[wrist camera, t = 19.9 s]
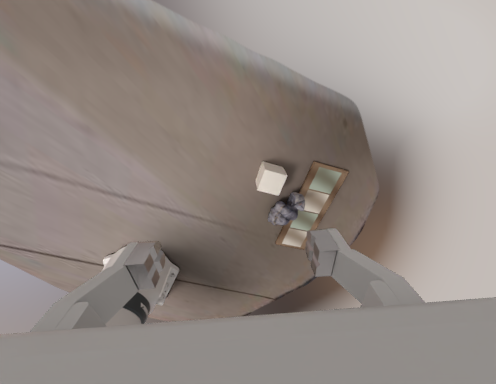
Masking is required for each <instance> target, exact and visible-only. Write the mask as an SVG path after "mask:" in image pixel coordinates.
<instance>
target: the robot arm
mask: <svg viewBox="0 0 496 384" xmlns="http://www.w3.org/2000/svg"><path fill="white" fill-rule="evenodd" d="M307 238H308V240H307V241H306V245H305V249H306V254H307V257H308V260H310V261H311V267H312V270H313V272H314V275H315V277H318V276H332V278H334V279H335V280H336V281H337V282H338V283H339V284H340V285H341V286H342V287H344V288H345V289H346V290H347V291H348V292H349V293H350V294H351V295H353V296H354V297H355V298H356V299H357V300H358V301H359V302H360V303H361V304H362V305H361V307H360V308H348V309H334V310H322V311H307V312H296V313H282V314H268V315H256V316H242V317H228V318H214V319H201V320H187V321H174V322H160V323H147V324H144V323H145V322H146V320H147V317H148V315H149V314H150V313H152V312H153V310H154V307H155V305H156V304H159V305H163V303H164V301H165V298H166V296H167V294H168V292H169V290H170V288H171V286H172V284H173V282H174V280H175V278H176V276H177V274H178V272H179V268H178V267H177V266H175V265H174V264H172V263H171V262H170V261H169V260H168V258H167V257H166V256H165V254H164V252H163V251H161V250H160V249H161V247H162V246H161V244H160V242H159V241H148V242H131V243H129V244H128V245H127V246H126V247H123V248H121V249H119V250H118V251H117V252H116V253H114V254H112V255H108V256H106V257H105V258H104V260H103V263H104V266H105V267H104V268H103V270H102V271H101V272H100V273H99V274H97V275H96V276H94V277H93V278H91V279H90V280H88V281H87V282H85V283H84V284H82V285H81V286H79V287H78V288H76V289H75V290H73V291H72V292H70V293H69V294H67V295H66V296H64V297H63V298H61V299H60V300H58V301H57V302H55V303H54V304H53V305H52V306H51V307H50V309H49V310H48V311H47V312H46V313H45V315H44V316H43V317H42V318H41V319H40V320H39V321H38V323H37V324H36V325H35V326H34V327H33V328H32V330H31V331H30V332H26V333H13V334H0V384H496V297H494V298H482V299H468V300H455V301H443V302H428V303H425V302H424V301H423V300H422V298H421V297H420V296H419V295H418V294H417V292H416V291H415V290H414V289H413V288H412V287H411V286H410V284H409V283H408V282H407V281H406V280H405V279H404V278H403V277H401V276H400V275H398V274H396V273H395V272H393V271H391V270H389V269H388V268H386V267H384V266H382V265H381V264H379V263H377V262H375V261H373V260H372V259H370V258H368V257H367V256H365V255H363V254H361V253H360V252H358V251H356V250H354V249H350V247H349V246H348V244H347V243H346V241H345V240H344V239H343V237H342V236H341V234H340V233H339V231H338V230H337V229H336V228H330V229H320V230H308V231H307Z"/></svg>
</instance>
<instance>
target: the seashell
mask: <svg viewBox="0 0 496 384" xmlns="http://www.w3.org/2000/svg"><path fill="white" fill-rule="evenodd" d="M304 207H305V200H304V196H303V195H302V194H299V193H296V192H292V193H291V194H290V197H289V199H288V201H287V205H286V204H285V203H284V202H282V201H278V202H277V203H276V205H275V207H272V208H271V210H270V213H269V217H268V221H269V222H271V223H272V224H273V225H277V224H279V225H287V224H288V223H289V221H290V220H295V219H297V216H298V210H300V211H304Z"/></svg>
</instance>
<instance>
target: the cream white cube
mask: <svg viewBox="0 0 496 384" xmlns="http://www.w3.org/2000/svg"><path fill="white" fill-rule="evenodd" d="M286 178H287V174H286V172H285V170H284V168H283V167H281V166H277V165H274V164H270V163H267V162H264V161H262V164H261V167H260V169H259V172H258V175H257V178H256V180H255V181H256V186H257V190H258V191H262V192H266V193H270V194H273V195H277V196H279V194H280V192H281V190H282V187H283V185H284V183H285V181H286Z"/></svg>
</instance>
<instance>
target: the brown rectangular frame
mask: <svg viewBox="0 0 496 384" xmlns="http://www.w3.org/2000/svg"><path fill="white" fill-rule="evenodd" d="M348 173H349V171H347V170H343V169H340V168H336V167H333V166H329V165H325V164H322V163H318V162H315V161H314V162H313V164H312V166H311V168H310V170H309V172H308V174H307V176H306V179H305V181H304V183H303V185H302V187H301V189H300V191H299V194H302V195H303V196H304V200H305V207H304V211H300V210H298V216H297V219H295V220H290V221H289V223H288V224H287V225H283V227H282V230H281V232H280V234H279V236H278V238H277V240H276V242H275V243H276V245H281V246H287V247H292V248H297V249H302V250H304V249H305V245H306V241H307V240H308V238H307V231H308V230H316V228H317V227H318V225H319V223H320V221H321V220H322V218H323V216H324V214H325V213H326V211H327V209H328V208H329V206H330V204H331V202H332V201H333V199H334V197H335V195H336V194H337V192H338V190H339V188H340V187H341V185H342V183H343V182H344V180H345V178H346V176H347V175H348Z"/></svg>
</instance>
